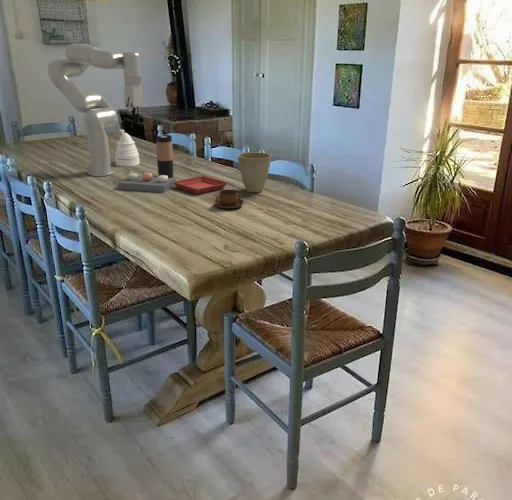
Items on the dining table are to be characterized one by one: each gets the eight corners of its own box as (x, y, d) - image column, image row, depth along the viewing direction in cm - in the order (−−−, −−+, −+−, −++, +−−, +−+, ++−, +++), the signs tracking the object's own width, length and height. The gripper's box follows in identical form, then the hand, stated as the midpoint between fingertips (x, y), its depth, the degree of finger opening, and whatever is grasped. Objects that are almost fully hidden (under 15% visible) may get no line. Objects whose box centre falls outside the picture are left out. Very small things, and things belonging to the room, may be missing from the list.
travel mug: (170, 179, 252) (168, 137, 245) (155, 178, 254) (153, 137, 246) (176, 175, 259) (174, 135, 252) (161, 174, 260) (159, 134, 253)
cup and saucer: (232, 212, 204) (232, 197, 201) (208, 207, 210) (207, 192, 207) (249, 205, 213) (249, 190, 211) (225, 200, 219) (225, 186, 217)
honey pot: (110, 164, 281) (107, 131, 274) (124, 160, 292) (122, 127, 285) (130, 167, 276) (127, 132, 270) (144, 162, 287) (141, 129, 281)
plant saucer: (202, 182, 249) (202, 175, 248) (228, 189, 237) (228, 182, 236) (172, 188, 237) (172, 181, 236) (197, 196, 225) (197, 189, 224)
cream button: (156, 182, 234) (155, 177, 233) (160, 179, 238) (159, 174, 237) (165, 182, 233) (165, 177, 232) (169, 180, 237) (169, 175, 236)
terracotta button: (140, 179, 235) (140, 174, 234) (145, 177, 239) (144, 172, 239) (150, 180, 234) (149, 175, 233) (154, 177, 238) (153, 173, 238)
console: (119, 189, 234) (118, 182, 233) (132, 181, 247) (132, 175, 246) (164, 192, 230) (164, 185, 229) (176, 184, 242) (175, 178, 241)
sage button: (125, 179, 237) (125, 175, 236) (130, 177, 241) (129, 172, 240) (134, 180, 236) (134, 175, 235) (139, 178, 240) (138, 173, 240)
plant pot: (274, 187, 239) (275, 153, 233) (264, 196, 226) (265, 159, 220) (244, 184, 243) (244, 151, 237) (232, 192, 230) (232, 157, 224)
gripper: (132, 79, 242) (135, 120, 249) (117, 82, 228) (121, 124, 235) (147, 80, 240) (150, 120, 247) (133, 82, 227) (136, 125, 234)
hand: (136, 122), depth 241 cm, fingers closed
